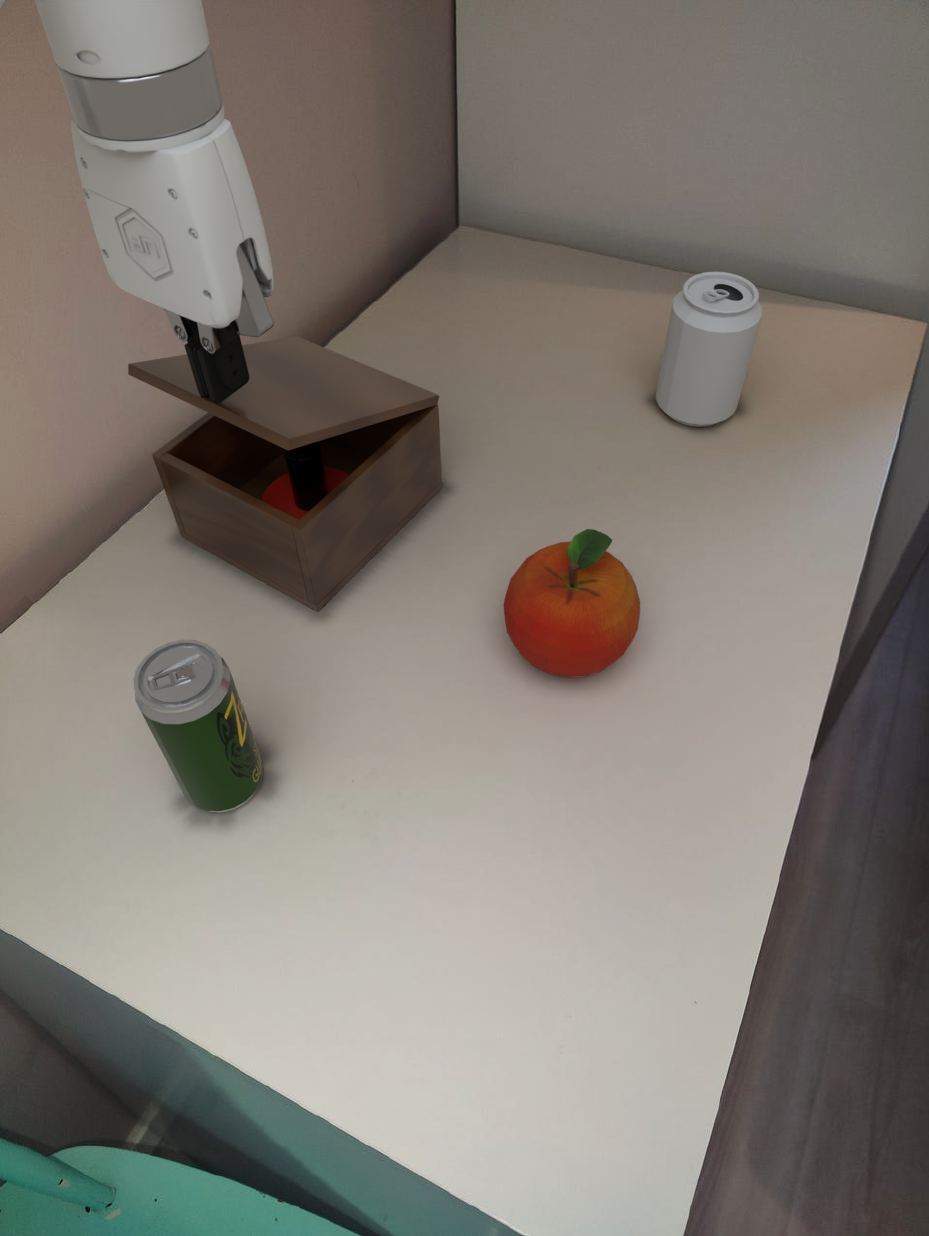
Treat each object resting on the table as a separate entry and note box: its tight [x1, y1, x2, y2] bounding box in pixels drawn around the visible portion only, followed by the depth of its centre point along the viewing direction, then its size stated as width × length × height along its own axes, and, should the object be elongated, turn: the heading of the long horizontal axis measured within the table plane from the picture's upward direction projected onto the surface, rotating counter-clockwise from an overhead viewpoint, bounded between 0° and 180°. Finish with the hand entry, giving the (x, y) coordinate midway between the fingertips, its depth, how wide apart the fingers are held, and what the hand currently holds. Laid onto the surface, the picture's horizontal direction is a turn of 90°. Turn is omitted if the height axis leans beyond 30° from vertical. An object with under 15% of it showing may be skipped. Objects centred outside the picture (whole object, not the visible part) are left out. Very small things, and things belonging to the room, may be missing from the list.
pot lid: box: [262, 442, 349, 520], centre depth 73 cm, size 8×8×6 cm
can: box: [655, 271, 763, 428], centre depth 79 cm, size 8×8×12 cm
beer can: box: [133, 639, 265, 813], centre depth 55 cm, size 5×5×12 cm
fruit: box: [502, 528, 641, 678], centre depth 63 cm, size 10×10×10 cm
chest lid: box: [127, 336, 440, 450], centre depth 66 cm, size 17×15×1 cm
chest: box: [151, 404, 443, 613], centre depth 72 cm, size 17×15×9 cm
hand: (225, 388), depth 60 cm, fingers closed
